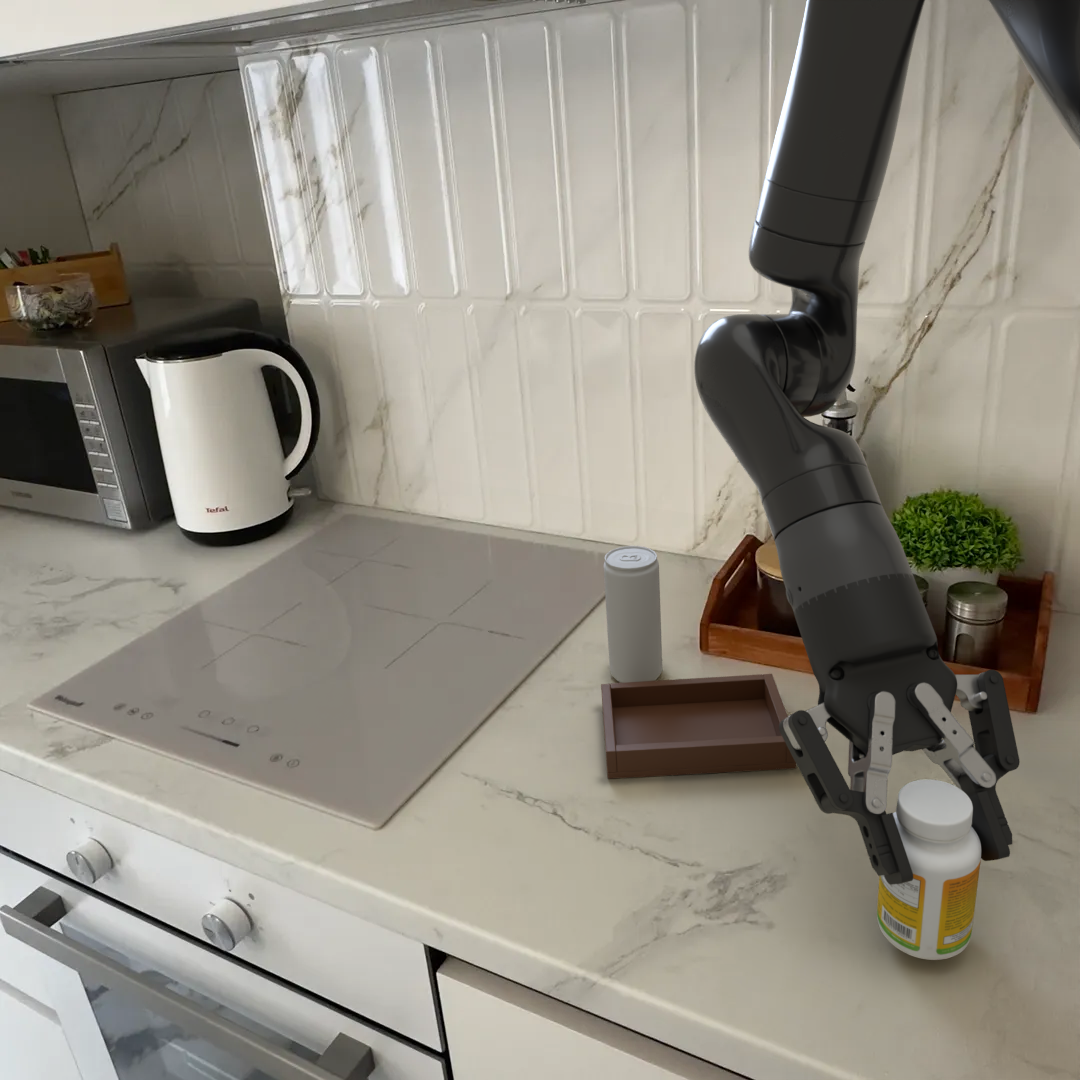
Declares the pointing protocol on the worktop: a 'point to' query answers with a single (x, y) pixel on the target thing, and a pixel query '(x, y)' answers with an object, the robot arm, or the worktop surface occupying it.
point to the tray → (694, 726)
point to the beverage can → (633, 613)
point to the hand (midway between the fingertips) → (949, 869)
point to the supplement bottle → (933, 872)
